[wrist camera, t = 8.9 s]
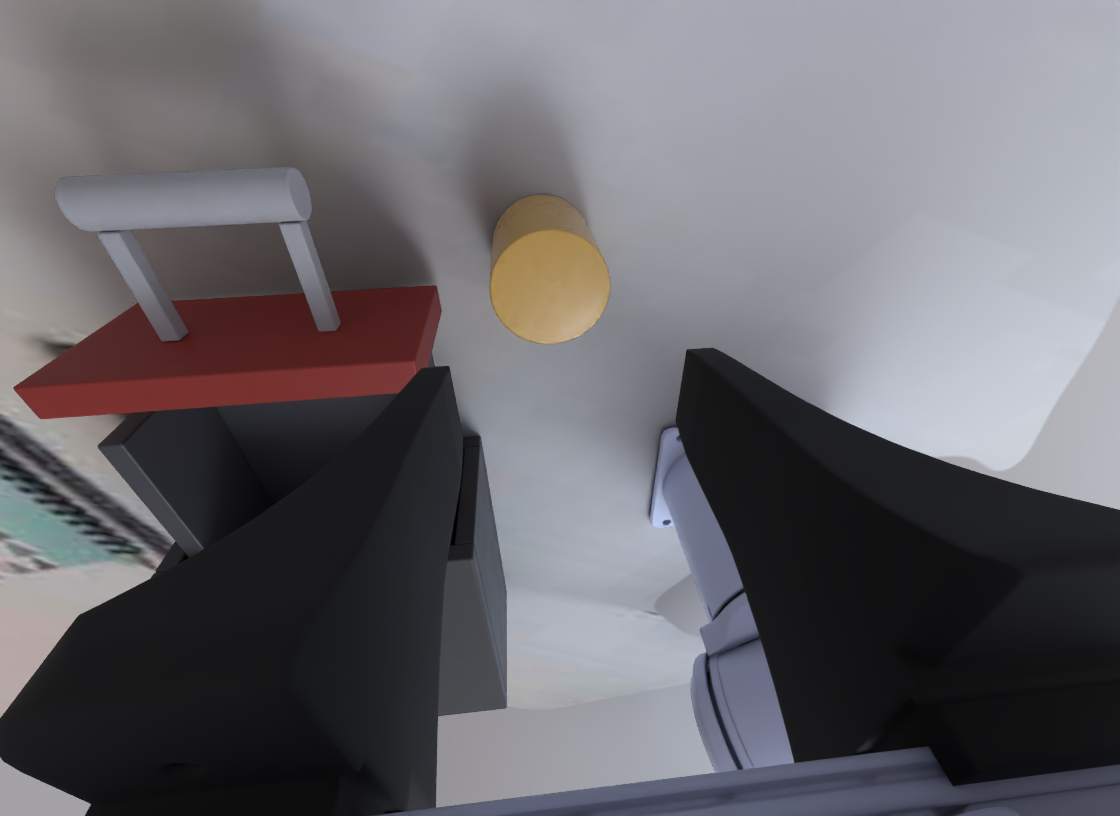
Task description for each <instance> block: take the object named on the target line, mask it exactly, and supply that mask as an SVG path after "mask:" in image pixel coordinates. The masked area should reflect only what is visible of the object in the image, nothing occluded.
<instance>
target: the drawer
mask: <svg viewBox="0 0 1120 816" xmlns="http://www.w3.org/2000/svg"><path fill="white" fill-rule="evenodd" d="M55 198H56V202H57V204H58V207H59V209H60V210H61V212H62V213H63V215H64V216H65V217H66V218H67V219H68V220H69V221H70V222H71V223H72V224H73V225H75V226H76V227H78V228H80V229H82V230H85V231H90V232H95V231H102V232H99V233H98V234H97V235H98V237H99V239H100V241H101V242H102V244H103V246H104V247H105V249H106V251H107V252H108V254H109V255H110V257H111V259H112V260H113V262H114V264H115V265H116V267H117V269H118V270H119V272H120V274H121V275H122V277H123V278H124V280H125V282H126V283H127V285H128V287H129V288H130V290H131V292H132V293H133V295H134V297H135V298H136V300H137V301H138V303H137V304H135V305H134V306H132V307H131V308H129V309H128V310H126V311H125V312H123V313H122V314H121V315H119V316H118V317H116V318H115V319H113V320H112V321H110V322H109V323H107V324H106V325H104V326H103V327H101V328H100V329H98V330H97V331H96V332H94V333H93V334H91V335H90V336H88V337H87V338H85V339H84V340H82V341H81V342H79V343H78V344H76V345H75V346H73V347H72V348H70V349H69V350H68V351H66V352H65V353H63V354H62V355H60V356H59V357H57V358H56V359H54V360H53V361H51V362H50V363H48V364H47V365H45V366H44V367H43V368H41V369H40V370H38V371H37V372H35V373H34V374H32V375H31V376H29V377H28V378H26V379H25V380H23V381H22V382H20V383H19V384H17V385H16V386H15V387H14V390H15V391H16V393H17V394H18V395H19V396H20V397H21V398H22V399H23V400H24V402H25V403H26V404H27V405H28V406H29V407H30V408H31V409H32V411H33V412H34V413H35V414H36V415H37V416H38V417H39V418H40V419H51V418H64V417H78V416H92V415H106V414H119V413H131V414H130V415H129V416H128V417H127V418H126V419H125V420H124V421H123V422H122V423H121V424H120V425H119V426H118V427H117V428H116V429H115V430H114V431H112V432H111V433H110V434H109V435H108V436H107V437H106V438H105V439H104V440H103V441H102V442H101V443H100V444H99V445H98V448H99V450H100V451H101V452H102V453H103V454H104V456H105V457H106V458H107V459H108V460H109V462H110V463H111V464H112V465H113V466H114V468H115V469H116V470H117V471H118V472H119V474H120V475H121V476H122V477H123V478H124V480H125V481H126V482H127V483H128V484H129V486H130V487H131V488H132V489H133V491H134V492H135V493H136V494H137V495H138V497H139V498H140V499H141V500H142V501H143V503H144V504H145V505H146V506H147V507H148V509H149V510H150V511H151V512H152V513H153V515H154V516H155V517H156V518H157V519H158V521H159V522H160V523H161V524H162V525H163V527H164V528H165V529H166V530H167V531H168V533H169V534H170V535H171V536H172V537H173V539H174V540H175V541H176V542H177V543H178V545H179V546H180V547H181V548H182V549H183V551H184V552H185V553H186V554H187V555H188V557H189V558H190V557H192V556H193V555H195V554H197V553H198V552H200V551H202V550H204V549H205V548H207V547H209V546H211V545H212V544H214V543H216V542H217V541H219V540H221V539H222V538H224V537H225V536H227V535H229V534H230V533H232V532H234V531H235V530H237V529H238V528H240V527H242V526H243V525H245V524H246V523H248V522H249V521H251V520H252V519H254V518H255V517H257V516H258V515H260V514H261V513H263V512H264V511H265V510H267V509H268V508H270V507H271V506H273V505H274V504H276V503H277V502H278V501H280V500H281V499H283V498H284V497H286V496H287V495H289V494H290V493H291V492H293V491H294V490H296V489H297V488H298V487H300V486H301V485H302V484H304V483H305V482H306V481H307V480H309V479H310V478H311V477H312V476H314V475H315V474H316V473H317V472H319V471H320V470H321V469H322V468H324V467H325V466H326V465H327V464H328V463H330V462H331V461H332V460H333V459H334V458H335V457H337V456H338V455H339V454H340V453H341V452H342V451H343V450H344V449H345V448H346V447H347V446H349V445H350V444H351V443H352V442H353V441H354V440H355V439H356V438H357V437H358V436H359V435H360V434H361V433H362V432H363V431H364V430H365V429H366V428H367V427H368V426H369V425H370V424H371V423H372V422H373V421H374V420H375V419H376V418H377V417H378V416H379V415H380V414H381V412H382V411H383V410H384V409H385V408H386V407H387V406H388V405H389V404H390V403H391V402H392V400H393V399H394V398H395V397H396V396H397V395H398V394H399V392H400V391H401V390H402V389H403V388H404V387H405V386H406V384H407V383H408V382H409V381H410V380H411V379H412V378H413V377H414V375H415V374H416V373H417V372H418V371H419V370H420V369H421V368H429V367H435V366H434V361H433V357H432V348H433V344H434V340H435V336H436V332H437V328H438V324H439V320H440V316H441V311H442V310H441V305H440V300H439V295H438V290H437V287H436V286H435V285H433V286H416V287H399V288H383V289H366V290H349V291H332V292H330V289H329V286H328V283H327V280H326V277H325V275H324V272H323V269H322V266H321V263H320V260H319V257H318V254H317V251H316V248H315V245H314V242H313V239H312V236H311V233H310V230H309V227H308V224H307V221H306V220H308V219H309V218H310V216H311V211H312V205H311V198H310V193H309V190H308V187H307V184H306V182H305V180H304V178H303V176H302V174H301V173H300V172H299V171H298V170H297V169H296V168H293V167H277V168H254V169H231V170H209V171H186V172H163V173H140V174H118V175H95V176H72V177H64V178H62V179H60V180H59V181H58V182H57V184H56V186H55ZM272 222H281V223H280V224H279V227H280V230H281V232H282V235H283V238H284V240H285V243H286V246H287V248H288V251H289V254H290V256H291V259H292V262H293V264H294V267H295V270H296V272H297V275H298V278H299V280H300V283H301V286H302V288H303V291H304V293H299V294H282V295H265V296H248V297H231V298H215V299H198V300H181V301H171V300H170V298H169V296H168V295H167V293H166V291H165V289H164V287H163V286H162V284H161V282H160V280H159V279H158V277H157V275H156V273H155V271H154V270H153V268H152V266H151V264H150V263H149V261H148V259H147V257H146V255H145V254H144V252H143V250H142V248H141V247H140V245H139V243H138V241H137V239H136V238H135V236H134V234H133V232H132V231H131V230H134V229H154V228H174V227H193V226H213V225H233V224H253V223H272ZM460 488H461V485H460ZM459 498H460V489H459V495H458V501H457V507H456V513H455V519H454V525H453V530H452V536H451V542H450V546H451V545H455V537H456V528H457V518H458V508H459Z"/></svg>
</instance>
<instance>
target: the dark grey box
mask: <svg viewBox="0 0 1120 816" xmlns="http://www.w3.org/2000/svg"><path fill="white" fill-rule="evenodd" d="M460 485H461V488H460V498H459V508H458V518H457V528H456V537H455V545H451V546H450V548H449V554H448V560H447V567H446V575H445V585H444V601H443V616H442V634H441V653H440V673H439V700H438V716H443V715H451V714H461V713H469V712H478V711H487V710H496V709H504V708H506V707H507V694H506V693H507V602H506V600H507V595H506V585H505V579H504V573H503V567H502V561H501V555H500V549H499V543H498V537H497V531H496V525H495V519H494V513H493V507H492V501H491V495H490V489H489V483H488V478H487V472H486V466H485V460H484V454H483V448H482V442H481V437H480V436H478V437H465V438H463V458H462V476H461V483H460ZM188 558H189V557H188V555H187V554H186V553H185V552H184V551H183V549H182V548H181V547H180V546H179V545H178V543H177V542H176V541H175V543H174V544H173V546H172V547H171V549H170V550H169V552H168V553H167V555H166V556H165V558H164V559H163V561H162V562H161V564H160V565H159V566H158V568H157V569H156V573H154V574H153V576H152V577H151V578H153V577H155V576H157V575H159V574H161V573H163V572H165V571H167V570H168V569H170V568H172V567H174V566H176V565H177V564H179V563H181V562H183V561H185V560H186V559H188Z"/></svg>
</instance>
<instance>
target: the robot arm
mask: <svg viewBox="0 0 1120 816" xmlns="http://www.w3.org/2000/svg"><path fill="white" fill-rule="evenodd" d="M675 421H676V424H677V427H675V428H668V429H666V430H665V431H664V432H663V433H662V435H661V442H660V449H659V456H658V463H657V470H656V477H655V485H654V492H653V499H652V506H651V513H650V523H651V525H652V527H655V528H660V527H671V526H675V529H676V531H677V534H678V537H679V540H680V543H681V545H682V548H683V551H684V554H685V556H686V559H687V562H688V565H689V568H690V570H691V573H692V576H693V579H694V582H695V584H696V587H697V590H698V593H699V595H700V598H701V601H702V604H703V607H704V609H705V612H706V615H707V618H708V620H709V624H707V625H705V626H703V627H701V628H700V633H701V636H702V639H703V642H704V645H705V648H706V651H707V652H706V653H703V654H700V655H699V656H698V657H697V658H696V659H695V662H694V665H693V674H692V678H691V699H692V705H693V710H694V714H695V719H696V722H697V726H698V729H699V732H700V735H701V738H702V741H703V744H704V747H705V749H706V752H707V754H708V756H709V759H710V761H711V764H712V766H713V768H714V770H715V772H716V773H710V774H702V775H694V776H686V777H678V778H670V779H662V780H655V781H647V782H638V783H630V784H623V785H616V786H615V785H614V786H606V787H598V788H591V789H583V790H574V791H567V792H558V793H551V794H544V795H543V794H542V795H535V796H526V797H519V798H510V799H502V800H494V801H488V802H487V801H486V802H479V803H470V804H463V805H455V806H446V807H438V808H436V772H437V771H436V770H437V728H438V727H437V726H438V700H439V673H440V653H441V634H442V616H443V601H444V585H445V575H446V567H447V560H448V554H449V548H450V542H451V536H452V530H453V525H454V519H455V513H456V507H457V501H458V495H459V489H460V483H461V476H462V458H463V434H462V429H461V424H460V419H459V414H458V409H457V403H456V398H455V393H454V388H453V383H452V378H451V373H450V368H449V366H443V367H429V368H421V369H420V370H419V371H418V372H417V373H416V374H415V375H414V377H413V378H412V379H411V380H410V381H409V382H408V383H407V384H406V386H405V387H404V388H403V389H402V390H401V391H400V392H399V394H398V395H397V396H396V397H395V398H394V399H393V400H392V402H391V403H390V404H389V405H388V406H387V407H386V408H385V409H384V410H383V411H382V412H381V414H380V415H379V416H378V417H377V418H376V419H375V420H374V421H373V422H372V423H371V424H370V425H369V426H368V427H367V428H366V429H365V430H364V431H363V432H362V433H361V434H360V435H359V436H358V437H357V438H356V439H355V440H354V441H353V442H352V443H351V444H350V445H349V446H347V447H346V448H345V449H344V450H343V451H342V452H341V453H340V454H339V455H338V456H337V457H335V458H334V459H333V460H332V461H331V462H330V463H328V464H327V465H326V466H325V467H324V468H322V469H321V470H320V471H319V472H317V473H316V474H315V475H314V476H312V477H311V478H310V479H309V480H307V481H306V482H305V483H304V484H302V485H301V486H300V487H298V488H297V489H296V490H294V491H293V492H291V493H290V494H289V495H287V496H286V497H284V498H283V499H281V500H280V501H278V502H277V503H276V504H274V505H273V506H271V507H270V508H268V509H267V510H265V511H264V512H263V513H261V514H260V515H258V516H257V517H255V518H254V519H252V520H251V521H249V522H248V523H246V524H245V525H243V526H242V527H240V528H238V529H237V530H235V531H234V532H232V533H230V534H229V535H227V536H225V537H224V538H222V539H221V540H219V541H217V542H216V543H214V544H212V545H211V546H209V547H207V548H205V549H204V550H202V551H200V552H198V553H197V554H195V555H193V556H192V557H190V558H188V559H186V560H185V561H183V562H181V563H179V564H177V565H176V566H174V567H172V568H170V569H168V570H167V571H165V572H163V573H161V574H159V575H157V576H155V577H153V578H151V579H149V580H147V581H145V582H143V583H141V584H139V585H138V586H136V587H134V588H132V589H130V590H128V591H126V592H124V593H122V594H120V595H118V596H116V597H114V598H112V599H110V600H108V601H107V602H105V603H103V604H101V605H99V606H97V607H95V608H93V609H91V610H88V611H86V612H84V613H82V614H80V615H79V616H78V617H77V618H76V619H75V621H74V622H73V623H72V625H71V626H70V627H69V628H68V630H67V631H66V632H65V634H64V635H63V636H62V638H61V639H60V640H59V642H58V643H57V644H56V646H55V647H54V648H53V650H52V651H51V652H50V654H49V655H48V656H47V657H46V659H45V660H44V661H43V663H42V664H41V665H40V667H39V668H38V669H37V671H36V672H35V673H34V675H33V676H32V677H31V679H30V680H29V681H28V683H27V684H26V685H25V686H24V688H23V689H22V690H21V692H20V693H19V694H18V696H17V697H16V698H15V700H14V701H13V702H12V704H11V705H10V706H9V708H8V709H7V710H6V712H5V713H4V714H3V716H2V717H1V718H0V757H1V759H2V760H3V761H4V762H5V763H7V764H9V765H10V766H12V767H14V768H15V769H17V770H19V771H20V772H23V773H24V774H27V775H29V776H31V777H33V778H36V779H38V780H40V781H42V782H44V783H46V784H49V785H51V786H53V787H55V788H57V789H60V790H62V791H64V792H66V793H68V794H70V795H73V796H75V797H77V798H79V799H81V800H84V801H86V802H88V803H90V804H91V806H90V807H89V809H88V811H87V813H86V815H85V816H1120V510H1118V509H1114V508H1110V507H1105V506H1101V505H1097V504H1093V503H1089V502H1085V501H1081V500H1077V499H1073V498H1068V497H1064V496H1060V495H1056V494H1052V493H1048V492H1044V491H1040V490H1036V489H1032V488H1029V487H1025V486H1022V485H1019V484H1015V483H1011V482H1008V481H1005V480H1001V479H998V478H995V477H991V476H988V475H984V474H981V473H978V472H975V471H971V470H969V469H966V468H962V467H959V466H956V465H953V464H950V463H947V462H944V461H942V460H939V459H936V458H933V457H931V456H928V455H925V454H922V453H920V452H917V451H914V450H911V449H909V448H906V447H903V446H901V445H898V444H896V443H893V442H891V441H888V440H886V439H883V438H881V437H879V436H877V435H874V434H872V433H870V432H867V431H865V430H863V429H861V428H858V427H856V426H854V425H852V424H849V423H847V422H845V421H843V420H841V419H839V418H837V417H835V416H833V415H831V414H829V413H827V412H825V411H823V410H821V409H819V408H817V407H816V406H814V405H812V404H810V403H808V402H806V401H804V400H802V399H801V398H799V397H797V396H795V395H793V394H792V393H790V392H788V391H786V390H785V389H783V388H781V387H780V386H778V385H776V384H775V383H773V382H771V381H770V380H768V379H766V378H765V377H763V376H761V375H760V374H758V373H756V372H755V371H753V370H751V369H750V368H748V367H746V366H745V365H743V364H742V363H740V362H738V361H737V360H735V359H733V358H731V357H730V356H728V355H726V354H725V353H723V352H721V351H719V350H717V349H715V348H701V349H687V351H686V357H685V363H684V369H683V376H682V382H681V388H680V395H679V401H678V407H677V413H676V420H675ZM679 435H680V437H678V436H679Z"/></svg>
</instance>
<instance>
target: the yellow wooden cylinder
mask: <svg viewBox="0 0 1120 816" xmlns="http://www.w3.org/2000/svg"><path fill="white" fill-rule="evenodd" d="M609 293H610V277H609V271H608V268H607V265H606V263H605V261H604V259H603V256H602V254H601V252H600V250H599V248H598V246H597V244H596V242H595V240H594V238H593V236H592V234H591V232H590V229H589V227H588V225H587V223H586V221H585V219H584V218H583V216H582V215H581V213H580V212H579V211H578V210H577V209H576V208H575V207H574V206H573V205H572V204H570V203H569V202H567V201H566V200H563V199H561V198H559V197H556V196H552V195H532V196H528V197H525V198H523V199H520V200H519V201H517V202H515V203H514V204H512V205H511V206H510V207H509V208H508V209H507V210H506V211H505V212H504V213H503V214H502V216H501V217H500V219H499V221H498V223H497V225H496V227H495V230H494V234H493V242H492V257H491V272H490V298H491V302H492V305H493V308H494V310H495V312H496V314H497V316H498V318H499V319H500V321H501V322H502V323H503V324H504V325H505V326H506V327H507V328H508V329H509V330H510V331H511V332H513V333H514V334H516V335H517V336H519V337H521V338H523V339H525V340H528V341H531V342H535V343H541V344H556V343H562V342H566V341H569V340H572V339H574V338H576V337H578V336H580V335H582V334H583V333H585V332H586V331H587V330H589V329H590V328H591V327H592V326H593V325H594V324H595V323H596V322H597V320H598V319H599V318H600V316H601V315H602V313H603V311H604V309H605V307H606V304H607V302H608V298H609Z"/></svg>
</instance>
